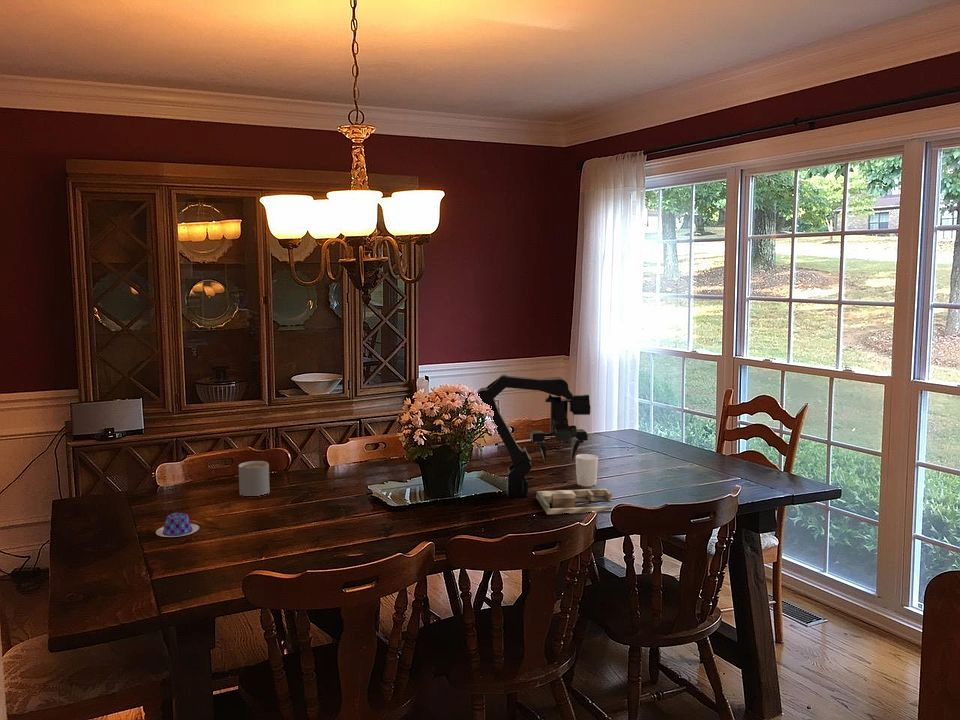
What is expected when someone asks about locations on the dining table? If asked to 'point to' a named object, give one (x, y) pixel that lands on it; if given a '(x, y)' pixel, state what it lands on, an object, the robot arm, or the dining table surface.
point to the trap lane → (580, 496)
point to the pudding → (177, 526)
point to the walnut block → (563, 501)
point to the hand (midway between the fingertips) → (558, 460)
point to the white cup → (586, 469)
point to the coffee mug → (254, 478)
